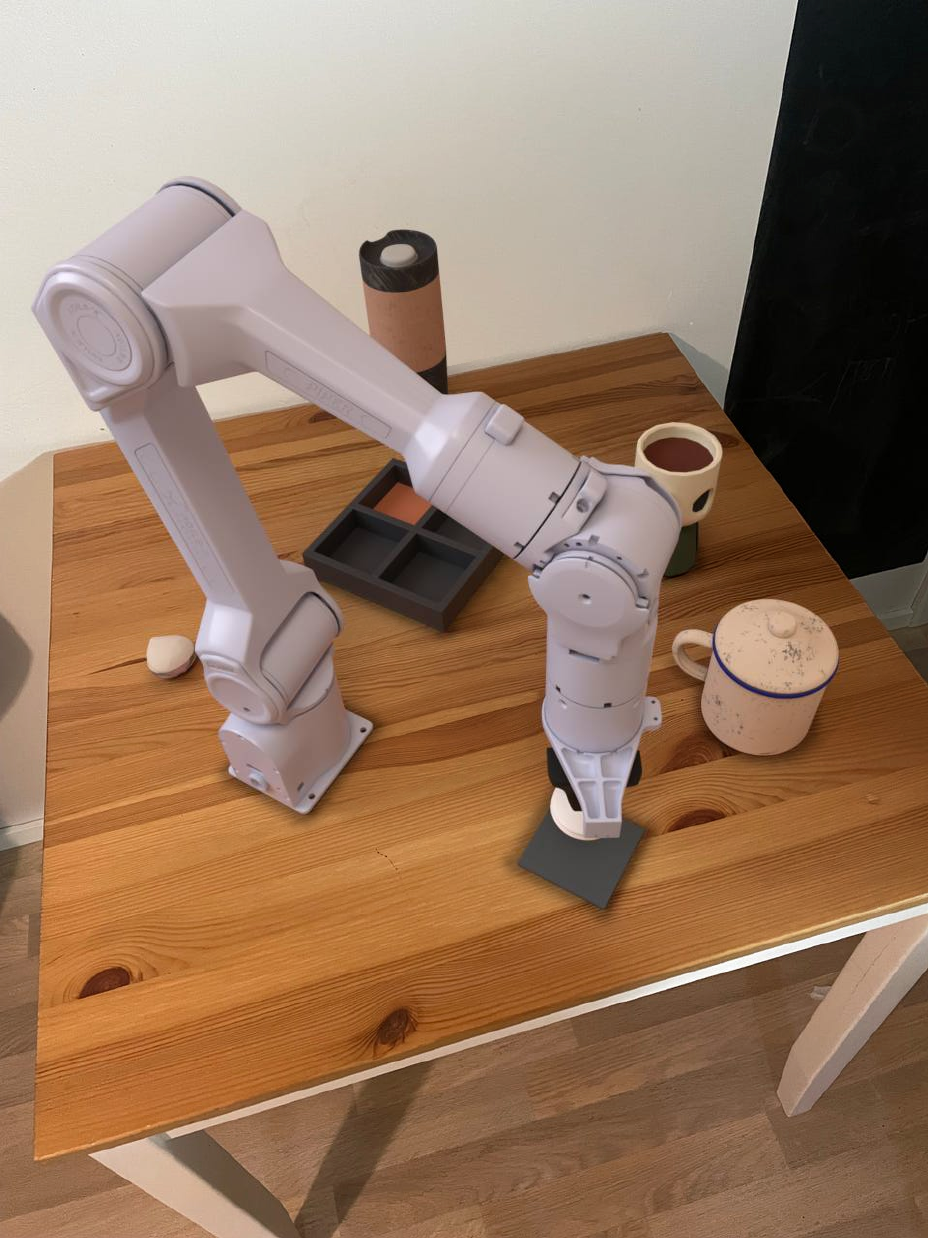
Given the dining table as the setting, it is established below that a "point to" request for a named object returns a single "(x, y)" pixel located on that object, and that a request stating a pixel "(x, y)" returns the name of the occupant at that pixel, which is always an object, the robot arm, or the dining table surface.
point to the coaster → (581, 860)
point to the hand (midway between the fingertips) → (586, 789)
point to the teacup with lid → (762, 674)
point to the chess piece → (567, 816)
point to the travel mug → (406, 301)
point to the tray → (402, 552)
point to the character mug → (683, 478)
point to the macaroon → (170, 655)
